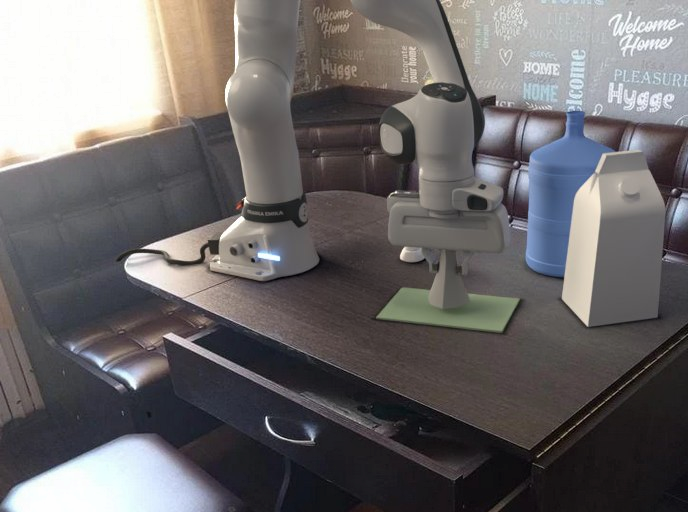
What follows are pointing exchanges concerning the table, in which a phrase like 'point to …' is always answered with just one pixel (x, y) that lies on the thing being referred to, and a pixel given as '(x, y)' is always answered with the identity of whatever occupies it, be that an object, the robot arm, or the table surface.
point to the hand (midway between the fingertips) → (448, 272)
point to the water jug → (558, 194)
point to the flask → (448, 283)
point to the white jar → (411, 254)
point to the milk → (616, 243)
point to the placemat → (450, 311)
